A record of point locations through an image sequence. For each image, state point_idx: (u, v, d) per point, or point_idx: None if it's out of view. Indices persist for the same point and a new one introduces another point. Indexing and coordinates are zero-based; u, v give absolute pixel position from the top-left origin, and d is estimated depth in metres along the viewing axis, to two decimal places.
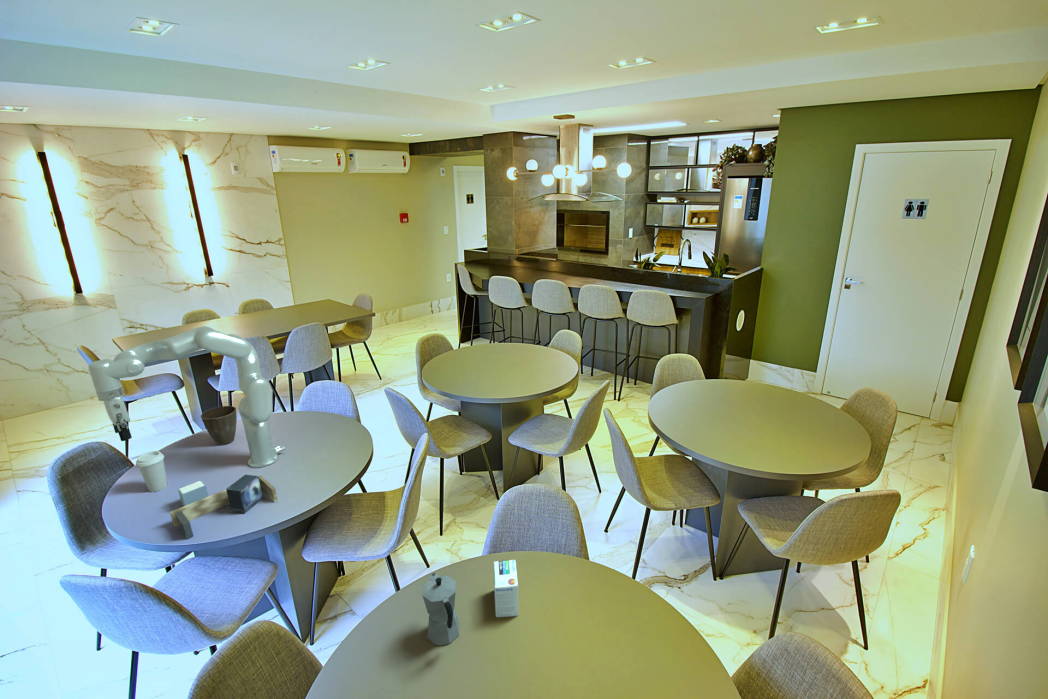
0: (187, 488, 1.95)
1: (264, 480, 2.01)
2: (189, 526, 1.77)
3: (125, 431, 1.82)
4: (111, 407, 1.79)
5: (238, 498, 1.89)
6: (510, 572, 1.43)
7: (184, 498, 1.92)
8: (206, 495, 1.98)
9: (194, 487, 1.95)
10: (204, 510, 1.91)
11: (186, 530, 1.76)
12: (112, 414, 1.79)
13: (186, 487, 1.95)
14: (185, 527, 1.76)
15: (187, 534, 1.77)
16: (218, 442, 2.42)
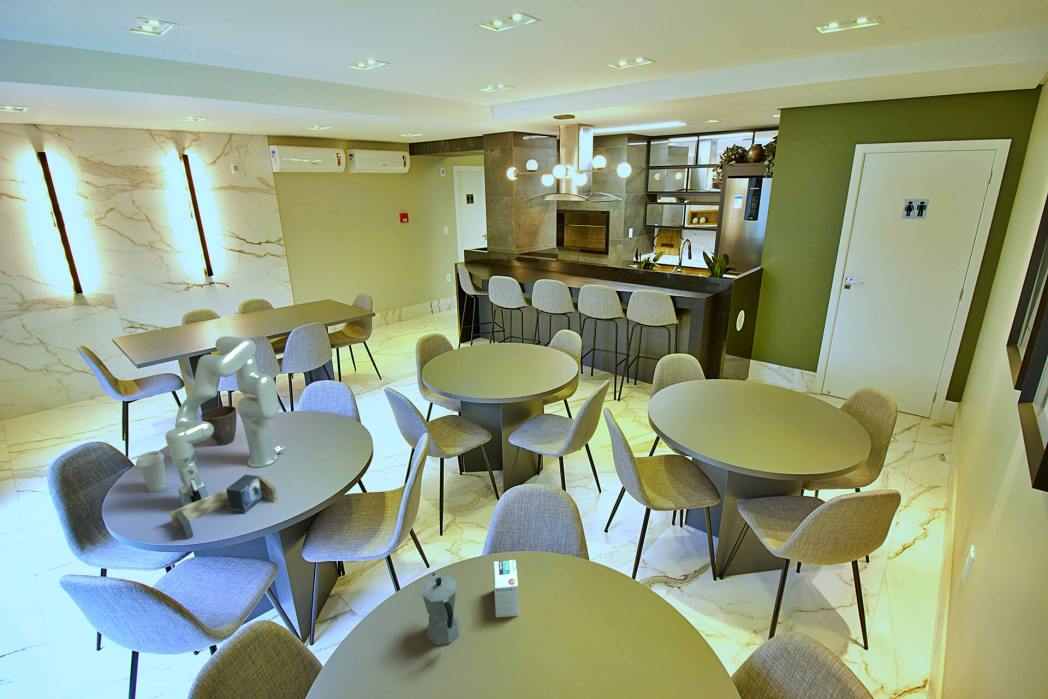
0: None
1: (264, 480, 2.01)
2: (189, 526, 1.77)
3: (197, 495, 1.94)
4: (185, 473, 1.89)
5: (238, 498, 1.89)
6: (510, 572, 1.43)
7: (184, 498, 1.92)
8: (206, 495, 1.98)
9: None
10: (204, 510, 1.91)
11: (186, 530, 1.76)
12: (186, 480, 1.90)
13: None
14: (185, 527, 1.76)
15: (187, 534, 1.77)
16: (218, 442, 2.42)
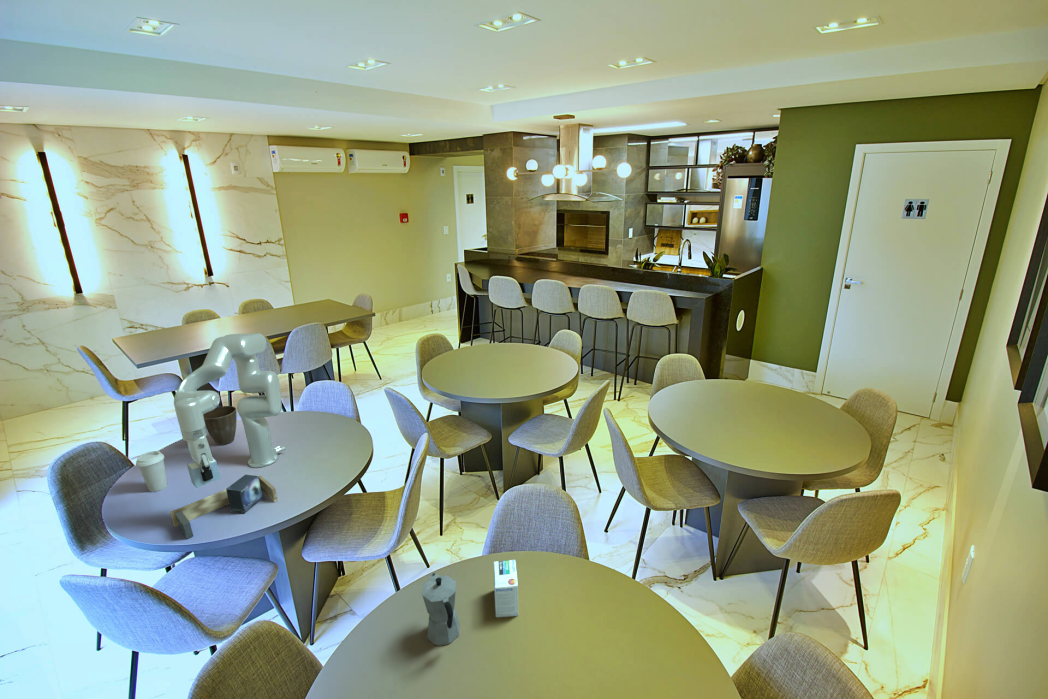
0: (197, 464, 1.81)
1: (264, 480, 2.01)
2: (189, 526, 1.77)
3: (207, 472, 1.80)
4: (196, 447, 1.75)
5: (238, 498, 1.89)
6: (510, 572, 1.43)
7: (193, 474, 1.78)
8: (217, 472, 1.84)
9: None
10: (204, 510, 1.91)
11: (186, 530, 1.76)
12: (197, 454, 1.76)
13: (196, 463, 1.81)
14: (185, 527, 1.76)
15: (187, 534, 1.77)
16: (218, 442, 2.42)
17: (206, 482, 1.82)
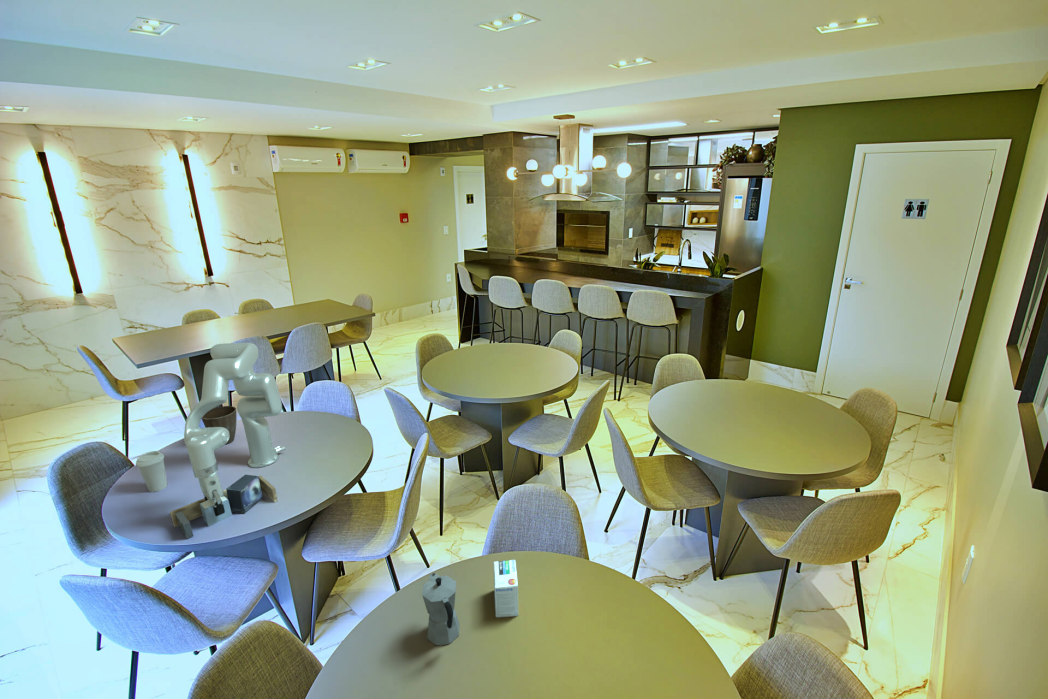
0: (209, 502, 1.85)
1: (264, 480, 2.01)
2: (189, 526, 1.77)
3: (220, 506, 1.83)
4: (207, 484, 1.79)
5: (238, 498, 1.89)
6: (510, 572, 1.43)
7: (206, 513, 1.83)
8: (229, 510, 1.88)
9: (216, 501, 1.86)
10: None
11: (186, 530, 1.76)
12: (208, 491, 1.80)
13: (208, 501, 1.86)
14: (185, 527, 1.76)
15: (187, 534, 1.77)
16: None
17: (218, 520, 1.86)
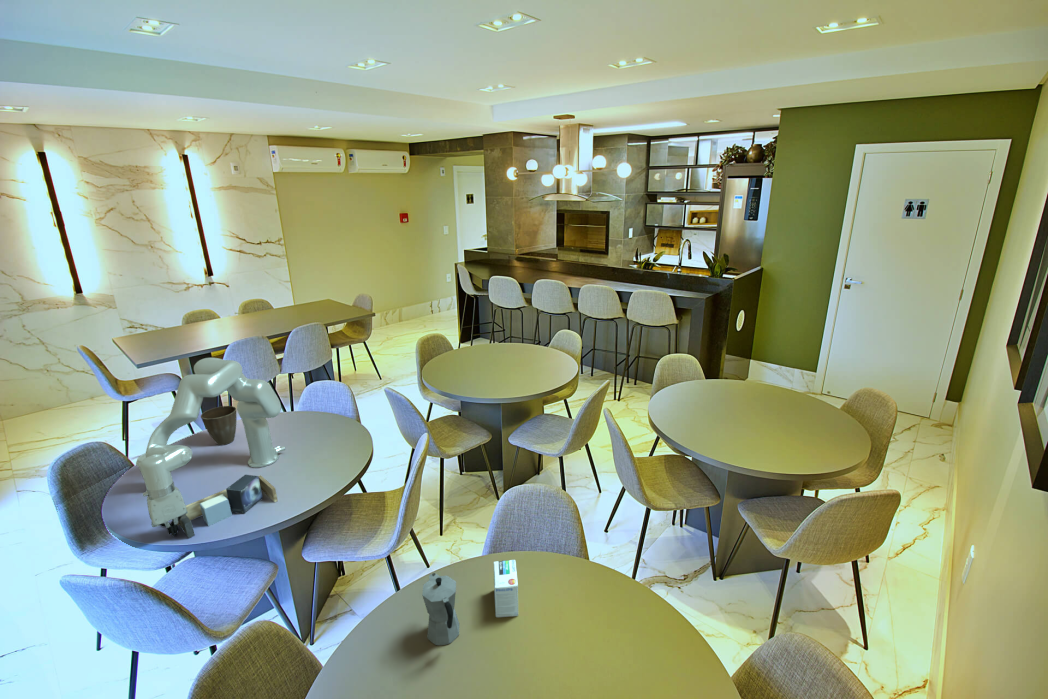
0: (209, 502, 1.85)
1: (264, 480, 2.01)
2: (190, 525, 1.77)
3: (167, 528, 1.76)
4: (147, 503, 1.72)
5: (238, 498, 1.89)
6: (510, 572, 1.43)
7: (206, 513, 1.83)
8: (229, 510, 1.88)
9: (216, 501, 1.86)
10: None
11: (187, 529, 1.77)
12: None
13: (208, 501, 1.86)
14: (186, 526, 1.76)
15: (188, 533, 1.77)
16: (218, 442, 2.42)
17: (218, 520, 1.86)
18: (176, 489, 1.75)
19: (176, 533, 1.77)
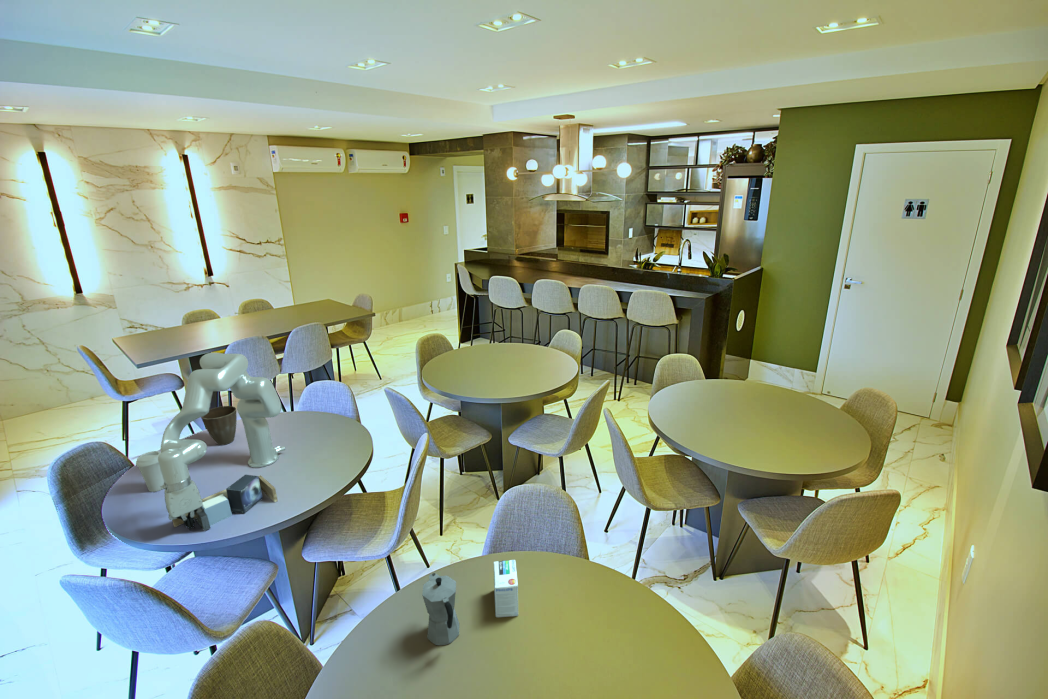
0: (209, 502, 1.85)
1: (264, 480, 2.01)
2: (206, 518, 1.81)
3: (183, 520, 1.80)
4: None
5: (238, 498, 1.89)
6: (510, 572, 1.43)
7: (206, 513, 1.83)
8: (229, 510, 1.88)
9: (216, 501, 1.86)
10: None
11: (203, 522, 1.80)
12: None
13: (208, 501, 1.86)
14: (203, 519, 1.80)
15: (204, 526, 1.81)
16: (218, 442, 2.42)
17: (218, 520, 1.86)
18: (192, 482, 1.79)
19: (192, 526, 1.81)
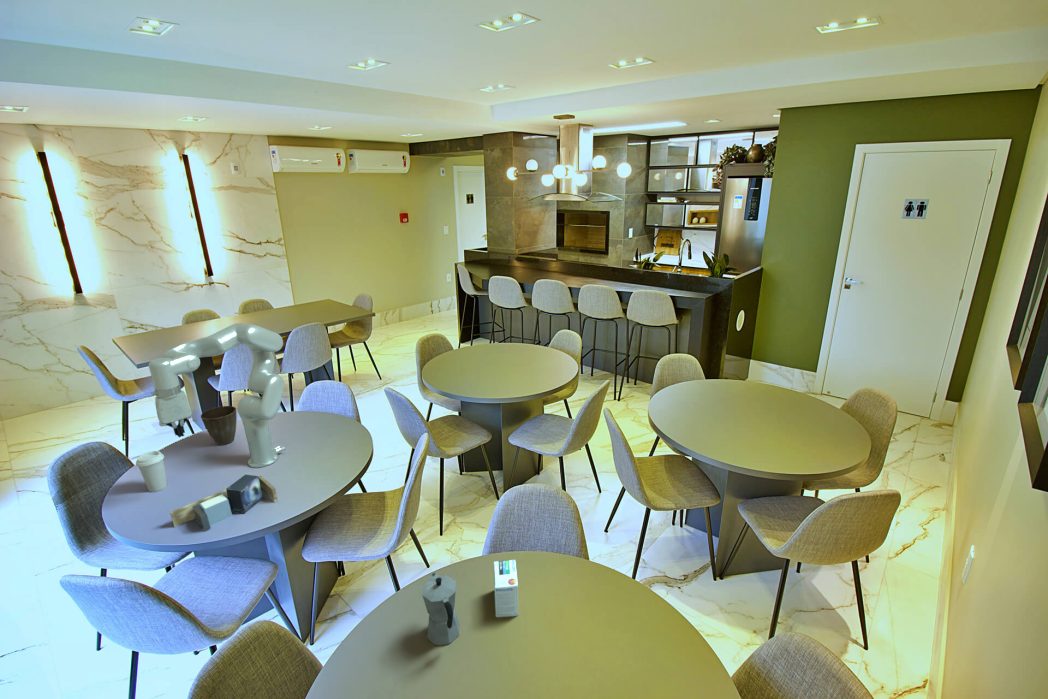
0: (209, 502, 1.85)
1: (264, 480, 2.01)
2: (206, 518, 1.81)
3: (174, 429, 1.88)
4: (155, 403, 1.83)
5: (238, 498, 1.89)
6: (510, 572, 1.43)
7: (206, 513, 1.83)
8: (229, 509, 1.88)
9: (216, 501, 1.86)
10: None
11: (203, 522, 1.80)
12: None
13: (208, 501, 1.86)
14: (203, 519, 1.80)
15: (204, 526, 1.81)
16: (218, 442, 2.42)
17: (218, 520, 1.86)
18: (182, 392, 1.87)
19: (182, 434, 1.89)
